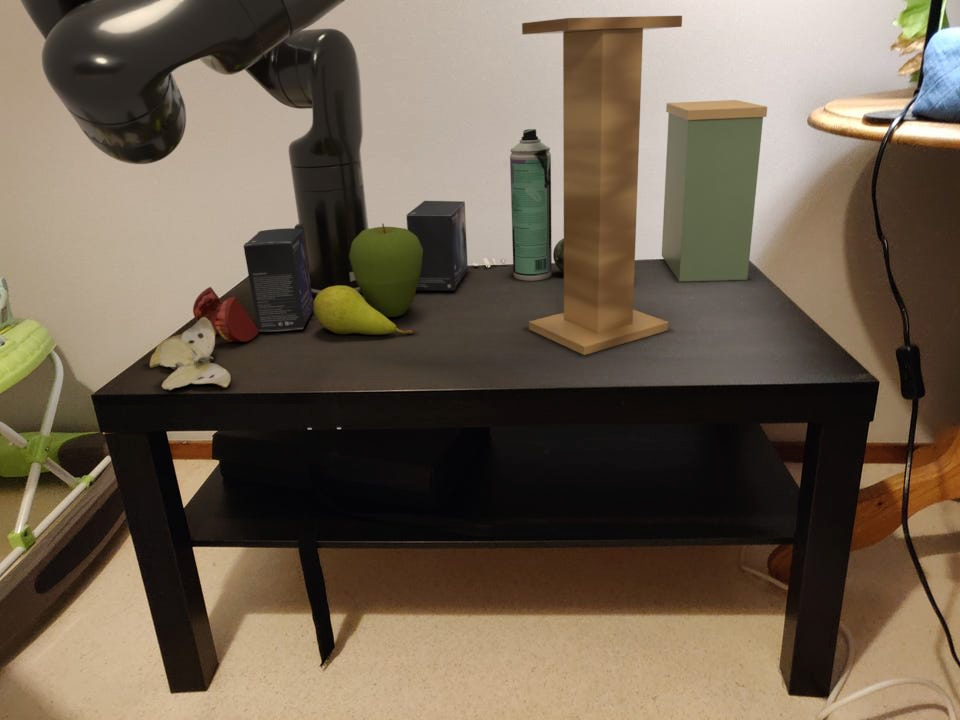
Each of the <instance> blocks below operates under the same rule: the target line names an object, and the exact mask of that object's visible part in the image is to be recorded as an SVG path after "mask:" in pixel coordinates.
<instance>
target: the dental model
mask: <svg viewBox="0 0 960 720" xmlns="http://www.w3.org/2000/svg"><path fill="white" fill-rule="evenodd" d="M192 313H193V317H194V319H195V321H196V323H197V322H198V321H199V320H200V319H201V318H203V317H206V318H207V319H208V320H209V321H210V322H211V324H212V326H213V329H214V333H215V336H216V335H218V336H220V337H222V338H223V339H224V340H225V341H227V342H228V343H229V342H230V343H239V342H240V343H246V342H249V341H251V340H253V339H254V338H255V337H256V336H257V335H258V333H259V332H260V331H259V330H258V328H257V325H256V324H255V322H254V321H253V319H252V318H251V317H250V316H249V314H248V312H246V310H245V308H244V307H243V306H242V304H241V302H240V301H239V300H238V299H237V297H236V296H230V297H229V296H228V297H227V298H226V299H225V300H224V301H223V302H222V300H221V298H220V297H219V296H218V294H217V293H216V292H215V290H214V289H213V288H212V286H209V287H207V288H206V289H204V290H203V291H201V292H200V294H199V295H198V296H197V298H196V299H195V301H194V303H193V307H192Z"/></svg>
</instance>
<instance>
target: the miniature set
mask: <svg viewBox="0 0 960 720" xmlns="http://www.w3.org/2000/svg"><path fill="white" fill-rule="evenodd" d="M481 261H484V265H485V267H486V268H488V269H490V267H491V264H490V262H489V258H486V257H484V258H483V259H481ZM490 261H491V262H492V263H493V265H494V266H496V265H497V262H496V258H490ZM499 261H500V263H501V264H502V265H506V261H507V259H506V258H504V257H503V256H500V257H499ZM467 264H468V262H467ZM472 266H474V267H478V266H480V264H479V263H478V262H477V261H476V260H473V261H472Z"/></svg>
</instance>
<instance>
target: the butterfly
mask: <svg viewBox="0 0 960 720" xmlns="http://www.w3.org/2000/svg"><path fill="white" fill-rule="evenodd" d="M215 346H216V335H215V333H214V329H213V326H212V324H211V322H210V321H209V320H208V319H207V318H206V317H203V318H201V319H200V320H199V321H198V322H197V321H196V322H195V323H194V324H193V325H192V326H191V327H189V328H188V329H186V330H185V331H183V332H182V333H181V336H180V340H179V339H169V340H167V341H166V342H164V343H163V344H162V345H161V348H160V354H159V363H160V365H159V366H160V367H166V368H168V367H169V368H171V369H172V370H174V371H173V372H172V373H171V374H169V375H168V376H167V377H166V379H164V381H163V382H162V384H161V387H162V389H164V390H168V391H171V390H174V389H178V388H181V387H186V386H188V385H190V384H192V385H205V384H209V385H217V386H219V387H221V388H223V389H227V388H228V387H229V385H230V382H231V380H232V379H231V378H232V377H231V374H230V373H229V371H228V370H227V369H225V368H224V367H222V366H221V365H219V364H218V363H213V362H212V361H213V360H214V359H215V358H214V357H213V356H212V354H213V352H214V348H215Z"/></svg>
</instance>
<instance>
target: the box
mask: <svg viewBox="0 0 960 720" xmlns="http://www.w3.org/2000/svg"><path fill="white" fill-rule="evenodd" d="M243 251H244V257H245V262H246V269H247V275H248V280H249V286H250V291H251V298H252V304H253V308H254V309H253V310H254V315H255V321H256V327H257V329H258V330H259V332H265V333H270V332H271V333H273V332H274V333H275V332H277V333H278V332H288V331H296V330H297V331H298V330H304V328H305V326H306V324H307V323H308V321H309V319H310V318H311V315H312V314H313V313H314V310H313V305H314V298H313V295H312V291H311V284H310V277H309V270H308V263H307V257H306V249H305V243H304V235H303V230H302V229H296V228H295V227H294V228H293V227H292V228H291V227H289V228H288V227H286V228H274V229H266V230H259V231H257V233H256V234H255V235H254V236H252V238H250V239H249V240H248V241H247V242H245V243H244V245H243Z"/></svg>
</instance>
